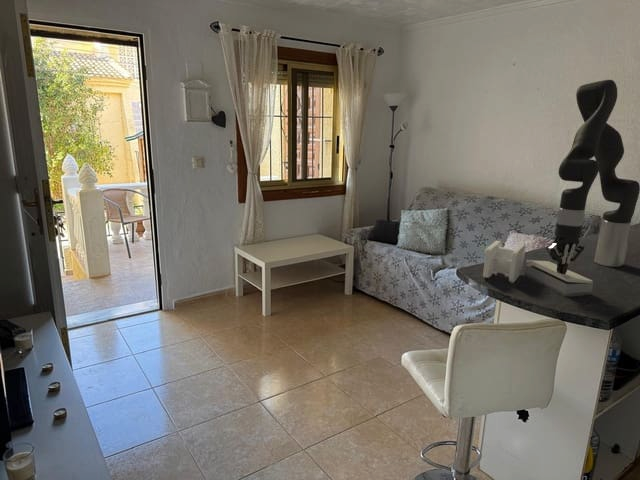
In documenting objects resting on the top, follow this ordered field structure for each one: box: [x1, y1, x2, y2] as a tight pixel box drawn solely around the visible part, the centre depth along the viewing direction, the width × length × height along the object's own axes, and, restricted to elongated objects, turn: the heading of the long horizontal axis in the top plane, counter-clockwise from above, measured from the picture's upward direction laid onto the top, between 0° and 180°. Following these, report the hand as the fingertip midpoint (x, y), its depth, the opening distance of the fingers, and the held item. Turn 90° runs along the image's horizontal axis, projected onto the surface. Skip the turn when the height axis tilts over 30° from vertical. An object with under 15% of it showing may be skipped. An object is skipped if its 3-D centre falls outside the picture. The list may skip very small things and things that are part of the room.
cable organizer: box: [482, 240, 526, 284], centre depth 158 cm, size 15×11×12 cm
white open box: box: [523, 264, 594, 298], centre depth 153 cm, size 10×20×4 cm, turn 13°
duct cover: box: [525, 259, 594, 283], centre depth 152 cm, size 10×20×1 cm, turn 13°
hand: (561, 273), depth 148 cm, fingers closed
